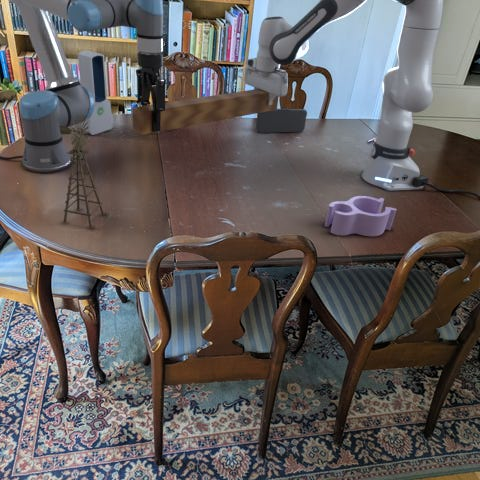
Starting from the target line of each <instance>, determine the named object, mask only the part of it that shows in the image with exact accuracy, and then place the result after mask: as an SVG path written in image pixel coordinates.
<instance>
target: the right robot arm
mask: <svg viewBox="0 0 480 480" xmlns="http://www.w3.org/2000/svg"><path fill="white" fill-rule="evenodd" d="M392 1H393V2H396V3H398V4H400V5H402V6H404V16H403V22H402V25H401V26H402V27H401V31H400V35H399V40H398V44H397V48H396V49H397V50H396V53H397V54H396V55H397V63H398V66H396V67H393V68H390V69H389V70H388V71H386V73H385V74H384V75H383V78H382V81H381V84H382V101H381V114H380V120H379V125H378V128H377V132H376V137H375V138H376V139H375V140H374V141H373V143H372V146H371V151H370V156H369V159H368V161H367V164H366V166H365V169H364V170H363V172H362V173H361V177H362V179H363V180H364V181H365V182H366V183H369V184H371V185H373V186H376V187H379V188H381V189H384V190H385V191H388V192H393V191H410V190H412V191H413V190H423V189H424V186H428V187H430V188H432V189H435V190H437V191H438V192H442V193H449V194H450V193H459V194H468V195H472V196H473V197H476V198H477V199H478V200H479V201H480V194H478V193H477V192H475V191H471V190H464V189H463V190H462V189H445V188H440V187H439V186H436V185H434V184H432V183H430V182H429V177H428V176H427V175H424V174H422V175H421V172H420V167H419V166H418V165H417V163H416V162H415V161H414V160H413V158H412V157H414V156H415V155H416V150H414V148H411V147H410V146H409V141H410V137H411V134H412V130H413V126H414V121H413V113H414V114H415V113H416V114H418V113H421V112H424V111H425V110H426V109H427V108H428V107H429V106H430V105H431V103H432V102H433V98H434V91H433V85H432V76H433V75H432V74H433V58H434V51H435V47H436V43H437V40H438V39H437V38H438V35H439V31H440V27H441V22H442V18H443V17H442V16H443V10H444V0H392ZM366 2H367V0H319V1H318V2H317V3H316V4H315V5H314V7H312V8H311V9H310V11H309V12H307V14H305V15H304V16H303V17H302V18H301V19H300V20H299V21H298V22H297V23H295V24H294V26H292V25H291V24H290V23H289V22H288V21H286V19H285V18H284V17H283V16H269V17H268V16H267V17H266V18H264V19H263V20H262V21H261V24H260V28H259V32H258V39H257V45H258V50H257V53H256V57H253V58H248V59H246V61H245V63H246V66H245V69H244V83H245V85H247V86H250V87H252V88H253V90H254V89H260V90H263V91H265V92H268V93H270V94H269V96H270V98H269V99H268V100H267V104H268V105H272V103H273V100H274V98H275V97H276V96H278V98H283V97H286V96H287V95H288V87H289V84H288V83H289V82H288V81H289V79H288V78H289V76H288V72H287V71H286V70H285V69H281V66H289V65H290V64H292V63H293V62H294V61H297V60H299V59H301V58H302V57H304V56H305V55H306V54H307V53H308V51H309V50H310V49H309V48H310V39H311V38H312V37H313V36H314V35H315V34H317V33H318V32H319V31H320V30H321V29H322V28H325V26H327V25H329V24H331V23H333V22H335V21H337V20H340V19H343V18H345V17H347V16H348V15H350V14H352V13H353V12H354V11H356V10H357V9H358V8H360V7H361V6H362V5H363V4H365V3H366ZM410 156H411V157H410Z"/></svg>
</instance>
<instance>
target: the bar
mask: <svg viewBox="0 0 480 480" xmlns="http://www.w3.org/2000/svg"><path fill="white" fill-rule="evenodd" d="M269 94H270V93H268V92H265V91H263V90H260V89H254V88H253V89H247V90H242V91H235V92H228V93H222V94H214V95H209V96H208V95H207V96H201V97H195V98H186V99H180V100H174V101H173V100H172V101H167V102H166V101H165V111H161V121H160V131H156V132H152V111H151V110H153V105H152V104H148V105H146V106H142V105H140V106H133V107H132V109H131V110H132V130H133V132H136V133H137V134H139V135H140V136H144V135H148V134H149V135H150V134H155V133H159V132H165V131H168V130H170V131H171V130H175V129H181V128H187V127H192V126H196V125H203V124H208V123H213V122H219V121H223V120H229V119H235V118H240V117H245V116H249V115H250V116H251V115H255V114H256V115H257V113H261V112H266V111H272V110H277V109H278V105H279V97H278V96H276V97H275V98H274V100H273V103H272V105H268V104H267V100H268V99H269V98H270V96H269Z"/></svg>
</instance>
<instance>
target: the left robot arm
mask: <svg viewBox="0 0 480 480" xmlns="http://www.w3.org/2000/svg"><path fill="white" fill-rule="evenodd" d="M9 1H10V2H11V3H12V4H14V5H15V6H16V7H17V8H18V11H19V14H20V16H21V19H22V20H23V23H24V26H25V28H26V31H27V34H28V36H29V39H30V42H31V44H32V47H33V49H34V51H35V54H36V58H37V60H38V61H39V64H40V68H41V69H42V72H43V75H44V77H45V80H46V82H47V84H46V87H45V88H44V89H43V90H41V89H40V90H34V91H30V92H27V93H25V94H23V95H22V96H21V97H20V99H19V103H18V105H19V116H20V119H21V125H22V132H23V137H24V148H23V153H22V155H17V156H16V155H14V156H9V157H7V156H1V155H0V160H6V161H7V160H9V161H10V160H15V159H22V160H21V161H22V166H23V168H24V169H25V170H27V171H29V172H33V173H39V174H46V173H56V172H61V171H63V170H66V169H67V168H69V167H70V166H71V165H72V164H71V161H72V159H71V154H67V152H69V151H68V150H67V149H68V148H67V147H66V145H65V143H64V140H63V134H60V126H64V127H67V128H70V127H71V126H72V127H73V126H74V124H73V121H74V123H75V125H76V124H78V116H79V123H80V115H81V123H82V119H83V121H84V120H85V118H86V120H87V119H88V118H90V117H91V115H92V113H93V111H94V99H93V96H92V94H91V93H90V91H89V90H87V88H85V87H83V86H81V84H80V79H78V78H76V77H75V76H74V75H73V73H72V70H71V67H70V64H69V61H68V59H67V56H66V54H65V51H64V49H63V45H62V44H61V43H62V42H61V41H60V37H59V35H58V33H57V32H58V31H57V29H56V26H55V24H54V21H53V18H52V15H53V16H56V17H58V18H60V19H63V20H65V21H67V22H69V24H70V25H71V26H72V27H73V28H74V29H75V30H76V31H78V32H82V33H83V32H84V33H85V32H87V33H90V32H95V31H100V30H104V29H112V28H118V27H126V28H132V29H136V50H137V57H136V58H137V66H138V67H140V68H138V69H135V73H136V74H135V75H136V97H137V98H136V99H137V102H140V106H146V105H153V110H151V111H152V132H155V133H157V132H156V131H160V121H161V111H165V103H166V84H167V79H166V78H163V77H162V76H161V71H160V70H161V68H162V67H163V66H164V54H163V52H164V4H163V3H164V2H163V0H9ZM150 98H151V99H150ZM150 100H151V101H150ZM83 115H84V117H83ZM75 117H76V120H77V123H76V120H75ZM59 125H60V126H59Z"/></svg>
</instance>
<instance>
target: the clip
mask: <svg viewBox="0 0 480 480" xmlns="http://www.w3.org/2000/svg"><path fill="white" fill-rule="evenodd" d="M384 201H385V198H383V197H379V198H376V197H373V196H368V195H357V196H352V197H350V198H349V200H347V201H339V200H338V201H337V200H335V201H332V202H330V203H329V205H328V208H327V214H326V218H325V222H324V227H326V228H329V227H330V226H331V227H330V233H331V234H333V235H336V236H348V235H353V234H356V235H360V236H364V237H365V236H366V237H378V236H381V235H382V234H384V232H385V230H387V231H391V229H392V226H393V222H394V219H395V216H396V213H397V210H398V209H397V208H395V207H391V206H385V207H384V211H383V212H382V209H383V206H384Z"/></svg>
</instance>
